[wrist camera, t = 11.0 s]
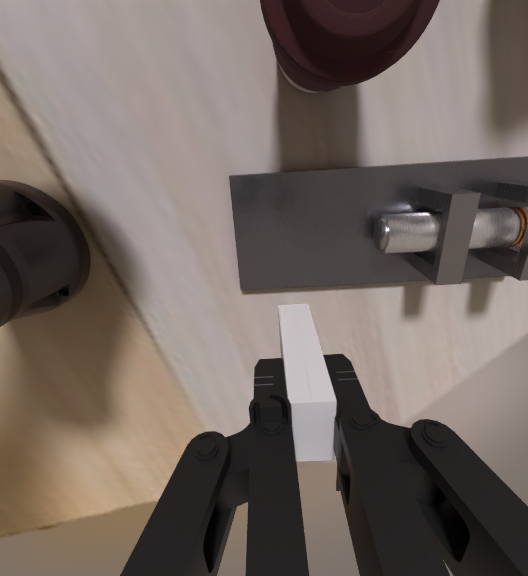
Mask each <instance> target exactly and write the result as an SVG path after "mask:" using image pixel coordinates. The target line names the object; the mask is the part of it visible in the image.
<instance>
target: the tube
mask: <svg viewBox="0 0 528 576" xmlns="http://www.w3.org/2000/svg"><path fill="white" fill-rule="evenodd" d="M442 215H443V211H437V212H421V213H404V214H387V215H382V216H381V217H380V219H377V221H376V222H375V225H374V232H373V237H374V244H375V247H376V249H377V250H380V252H381V253H383V254H385V253H403V252H421V251H436V248H437V243H438V237H439V231H440V226H441V220H442ZM527 225H528V206H513V207H505V208H488V209H477V213H476V218H475V222H474V227H473V231H472V236H471V240H470V245H469V249H475V248H493V247H517V246H521V245H522V241H523V238H524V235H525V231H526V228H527Z"/></svg>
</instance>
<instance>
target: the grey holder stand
mask: <svg viewBox="0 0 528 576" xmlns="http://www.w3.org/2000/svg"><path fill="white" fill-rule="evenodd" d="M229 179H230V189H231V199H232V209H233V219H234V229H235V239H236V248H237V258H238V268H239V278H240V288H241V290H250V289H269V288H288V287H308V286H327V285H346V284H365V283H384V282H403V281H422V280H430V281H431V282H433V283H434V284H435V285H444V284H461V281H462V278H479V277H498V276H512V277H514V278H516V279H518V280H520V281H521V280H528V225H527V228H526V231H525V235H524V238H523V241H522V245H521V248H520V252H518V250H519V247H520V246H517V247H493V248H475V249H469V245H470V240H471V236H472V231H473V227H474V222H475V218H476V213H477V209H488V208H505V207H513V206H528V156H526V157H511V158H495V159H480V160H464V161H449V162H433V163H417V164H402V165H386V166H371V167H355V168H340V169H324V170H309V171H293V172H277V173H262V174H246V175H231V176H229ZM437 211H443V215H442V220H441V226H440V231H439V237H438V243H437V248H436V251H421V252H403V253H385V254H383V253H381V252H380V250H377V249H376V247H375V244H374V237H373V232H374V225H375V222H376V221H377V219H380V217H381V216H382V215H387V214H404V213H421V212H437Z"/></svg>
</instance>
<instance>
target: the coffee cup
mask: <svg viewBox="0 0 528 576" xmlns="http://www.w3.org/2000/svg"><path fill="white" fill-rule="evenodd" d="M260 3H261V9H262V13H263V18H264V21H265V24H266V27H267V30H268V32H269V34H270V37H271V39H272V42H273V47H274V51H275V55H276V58H277V60H278V63H279V66H280V68H281V71H282V73H283V74H284V76H285V77H286V79H287V80H288V81H289V82H290V83H291V84H292V85H293V86H294V87H296V88H297V89H299V90H301V91H304V92H308V93H320V92H324V91H330V90H334V89H336V88H339V87H341V86H348V85H353V84H358V83H361V82H364V81H367V80H369V79H371V78H373V77H375V76H377V75H378V74H380V73H382V72H383V71H385V70H386V69H388V68H389V67H390V66H392V65H393V64H395V63H396V62H397V61H398V60H399V59H401V58H402V57H403V56H404V55H405V54H406V53H407V52H408V51H409V50H410V49H411V48H412V46H413V45H414V44H415V43H416V42H417V40H418V39H419V38H420V36H421V35H422V33H423V32H424V30H425V29H426V27H427V25H428V24H429V22H430V20H431V19H432V16H433V14H434V12H435V10H436V8H437V6H438V3H439V0H260Z"/></svg>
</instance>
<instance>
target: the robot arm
mask: <svg viewBox="0 0 528 576" xmlns="http://www.w3.org/2000/svg"><path fill="white" fill-rule="evenodd" d="M89 268H90V256H89V250H88V246H87V243H86V240H85V237H84V235H83V233H82V231H81V229H80V227H79V226H78V224H77V223H76V221H75V220H74V219H73V217H72V216H71V215H70V214H69V212H68V211H67V210H66V209H65V208H64V207H63V206H62V205H60V204H59V203H58V202H57V201H56V200H54V199H53V198H52V197H50V196H49V195H47V194H46V193H44V192H42V191H40V190H38V189H36V188H34V187H32V186H29V185H27V184H24V183H20V182H15V181H9V180H0V327H1V326H2V325H4V324H5V323H7V322H8V321H10V320H14V319H18V318H22V317H26V316H30V315H33V314H37V313H41V312H45V311H49V310H52V309H54V308H56V307H58V306H60V305H62V304H64V303H65V302H66V301H68V300H69V299H70V298H72V297H73V296H74V295H76V294H77V293H78V292H79V291H80V290H81V288H82V287H83V286H84V284H85V282H86V280H87V277H88V274H89ZM278 311H279V331H280V350H281V358H275V359H260V360H259V361H258V363H257V365H256V366H255V373H254V399H253V400H252V401H251V402H250V406H249V415H250V424H249V425H248V426H247V427H246V428H245V429H244V430H242V431H241V432H239V433H237V434H234V435H231V436H228V437H226V438H225V437H224V436H223V435H222V434H221V433H218V432H215V431H212V432H204V433H201V434H199V435H197V436H196V437H195V438H193V439H192V440H191V441H190V443H189V444H188V445H187V447H186V449H185V451H184V453H183V455H182V457H181V458H180V460H179V462H178V464H177V466H176V468H175V470H174V472H173V474H172V476H171V478H170V480H169V482H168V484H167V486H166V488H165V490H164V491H163V493H162V495H161V497H160V499H159V501H158V503H157V505H156V507H155V509H154V511H153V513H152V515H151V517H150V519H149V521H148V523H147V525H146V526H145V528H144V530H143V532H142V534H141V536H140V538H139V540H138V542H137V544H136V546H135V548H134V550H133V552H132V554H131V556H130V557H129V559H128V561H127V563H126V565H125V567H124V569H123V571H122V573H121V575H120V576H217V573H218V569H219V566H220V563H221V559H222V556H223V552H224V549H225V546H226V542H227V538H228V535H229V532H230V528H231V525H232V521H233V518H234V514H235V511H236V508H237V506H239V505H242V504H243V503H246V502H248V526H247V553H246V554H247V555H246V576H309V570H308V562H307V553H306V544H305V536H304V526H303V517H302V509H301V501H300V491H299V482H298V474H297V464H296V462H305V461H325V460H334V452H335V456H336V460H337V480H336V491H341V495H342V499H343V504H344V508H345V513H346V517H347V521H348V526H349V530H350V535H351V539H352V543H353V547H354V552H355V557H356V561H357V565H358V570H359V574H360V576H450V575H449V572H448V570H447V568H446V566H445V563H446V565H447V566H448V568H449V569H450V571H451V572H452V574H453V575H454V576H528V506H527V505H526V504H525V503H524V502H523V501H521V499H520V498H518V496H517V495H516V494H515V493H514V492H513V491H512V490H511V489H510V488H509V487H508V486H507V485H506V484H505V483H504V482H503V481H502V480H501V479H500V478H499V477H498V476H497V475H496V474H495V473H494V472H493V471H492V470H491V469H490V468H489V467H488V466H487V465H486V464H485V463H484V462H483V461H482V460H481V459H480V458H479V457H478V456H477V454H475V453H474V451H473V450H472V449H470V447H469V446H468V445H467V444H466V443H465V442H464V441H463V440H462V439H461V438H460V437H459V436H458V435H457V434H456V433H455V432H454V431H453V430H451V429H450V428H449V427H447V426H446V425H444V424H442V423H440V422H438V421H434V420H429V419H424V420H419V421H417V422H415V423H414V424H413V425H412V427H411V428H407V427H402V426H398V425H394V424H390V423H388V422H386V421H384V420H382V419H381V418H380V417H379V415H378V414H377V413H375V412H374V411H373V410H371V408H370V407H369V404H368V402H367V399H366V397H365V395H364V392H363V390H362V387H361V385H360V383H359V380H358V379H357V375H356V373H355V372H354V368H353V366H352V363H351V361H350V360H349V359H347V358H346V357H345V356H344V355H343V354H332V355H323V353H322V350H321V347H320V343H319V340H318V337H317V333H316V330H315V326H314V323H313V320H312V316H311V313H310V310H309V306H308V304H293V305H278ZM442 558H443V559H442ZM443 560H444V561H443ZM444 562H445V563H444Z"/></svg>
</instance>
